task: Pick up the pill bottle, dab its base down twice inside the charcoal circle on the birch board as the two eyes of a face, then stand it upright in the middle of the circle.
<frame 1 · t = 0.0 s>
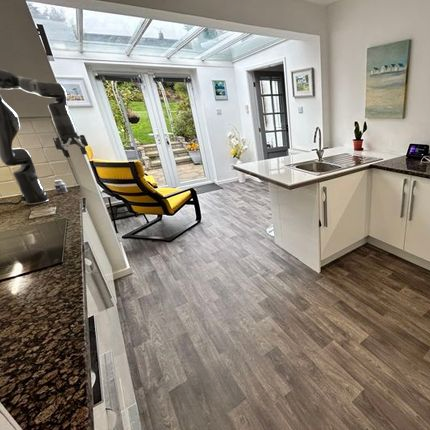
hand: (76, 155, 143), 29 cm above the table, tool pointing down, fingers open, 8 cm apart
drawing board: (43, 213, 146), on the table
pill bottle: (63, 192, 184), on the table
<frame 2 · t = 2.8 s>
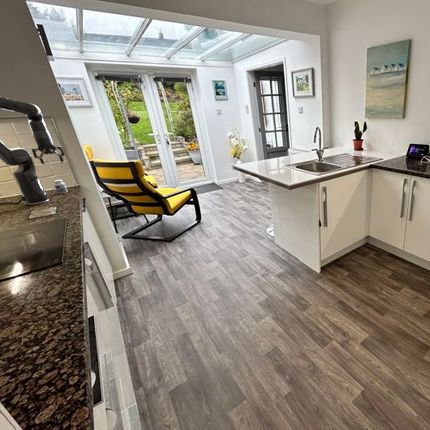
hand: (53, 163, 172), 21 cm above the table, tool pointing down, fingers open, 8 cm apart
nothing on the table moved.
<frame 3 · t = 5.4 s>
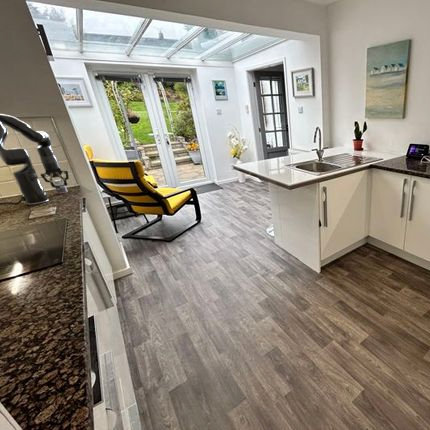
hand: (60, 186, 182), 4 cm above the table, tool pointing down, fingers closed on pill bottle, 5 cm apart
pill bottle: (63, 192, 184), on the table, touching gripper
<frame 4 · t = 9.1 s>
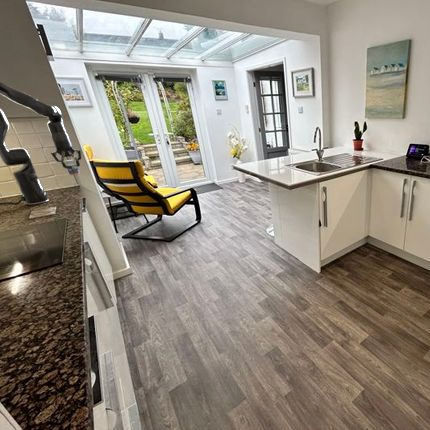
hand: (72, 167, 166), 19 cm above the table, tool pointing down, fingers closed on pill bottle, 5 cm apart
pill bottle: (75, 174, 168), point 15 cm above the table, touching gripper
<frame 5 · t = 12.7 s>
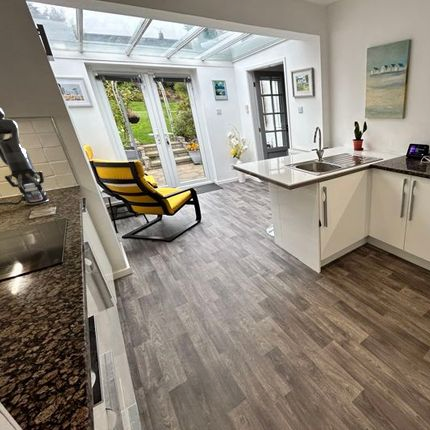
hand: (32, 192, 139), 13 cm above the table, tool pointing down, fingers closed on pill bottle, 5 cm apart
pill bottle: (36, 200, 141), point 8 cm above the table, touching gripper
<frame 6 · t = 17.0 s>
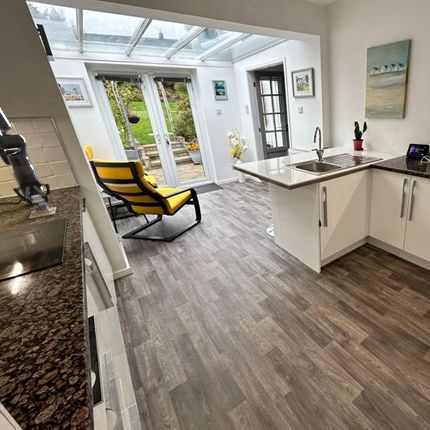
hand: (39, 203, 145), 5 cm above the table, tool pointing down, fingers closed on pill bottle, 5 cm apart
pill bottle: (43, 211, 147), point 1 cm above the table, touching gripper
when the fingers open (5 cm above the table, at t = 20.2 s): pill bottle stays where it is, resting on drawing board.
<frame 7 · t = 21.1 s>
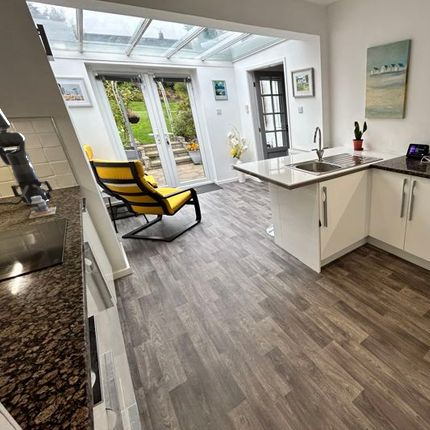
hand: (38, 201, 143), 7 cm above the table, tool pointing down, fingers open, 8 cm apart
pill bottle: (42, 212, 145), point 1 cm above the table, touching drawing board
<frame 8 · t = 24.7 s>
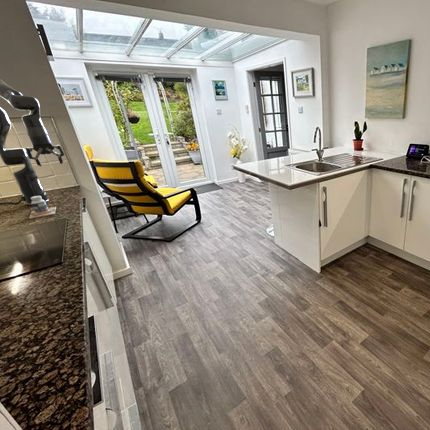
hand: (51, 164, 150), 24 cm above the table, tool pointing down, fingers open, 8 cm apart
nothing on the table moved.
at the end: pill bottle 0.1 cm off-centre on the drawing board, point 0.5 cm above the drawing board's base; pill bottle tilted 0°; the gripper is holding nothing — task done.
